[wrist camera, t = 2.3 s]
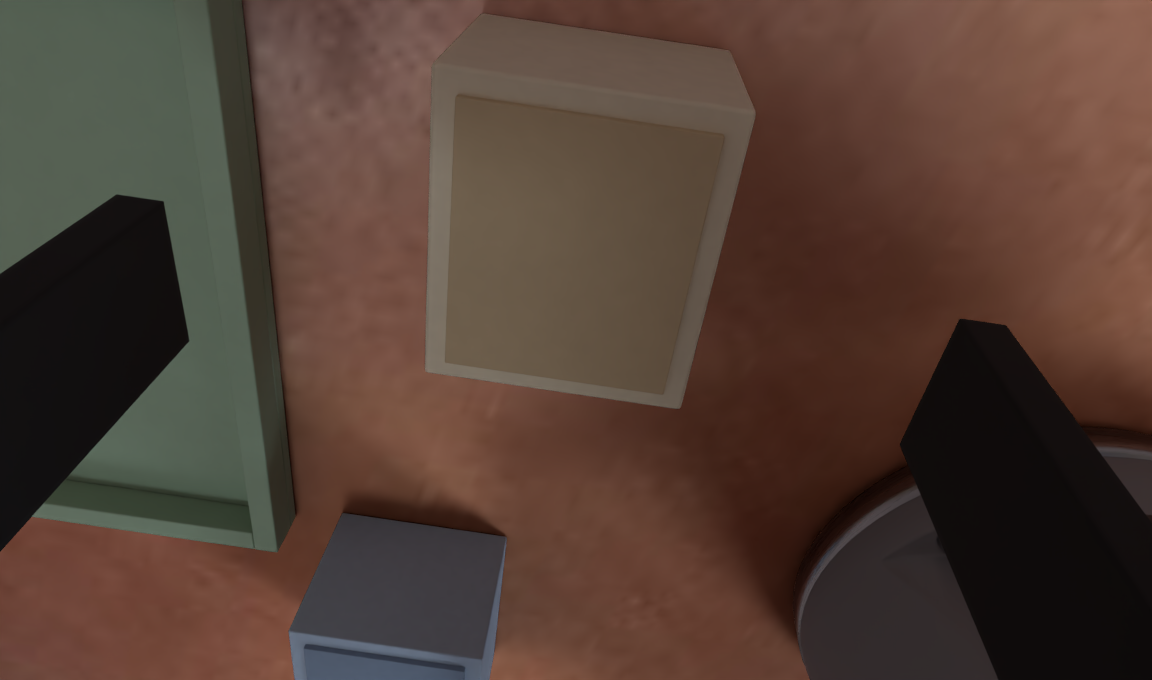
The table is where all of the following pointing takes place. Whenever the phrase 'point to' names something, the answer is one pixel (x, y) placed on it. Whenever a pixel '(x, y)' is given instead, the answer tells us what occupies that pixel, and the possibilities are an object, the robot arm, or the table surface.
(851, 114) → the table surface
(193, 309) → the backing tray
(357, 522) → the blue box
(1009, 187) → the table surface
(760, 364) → the table surface
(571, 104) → the cream box
